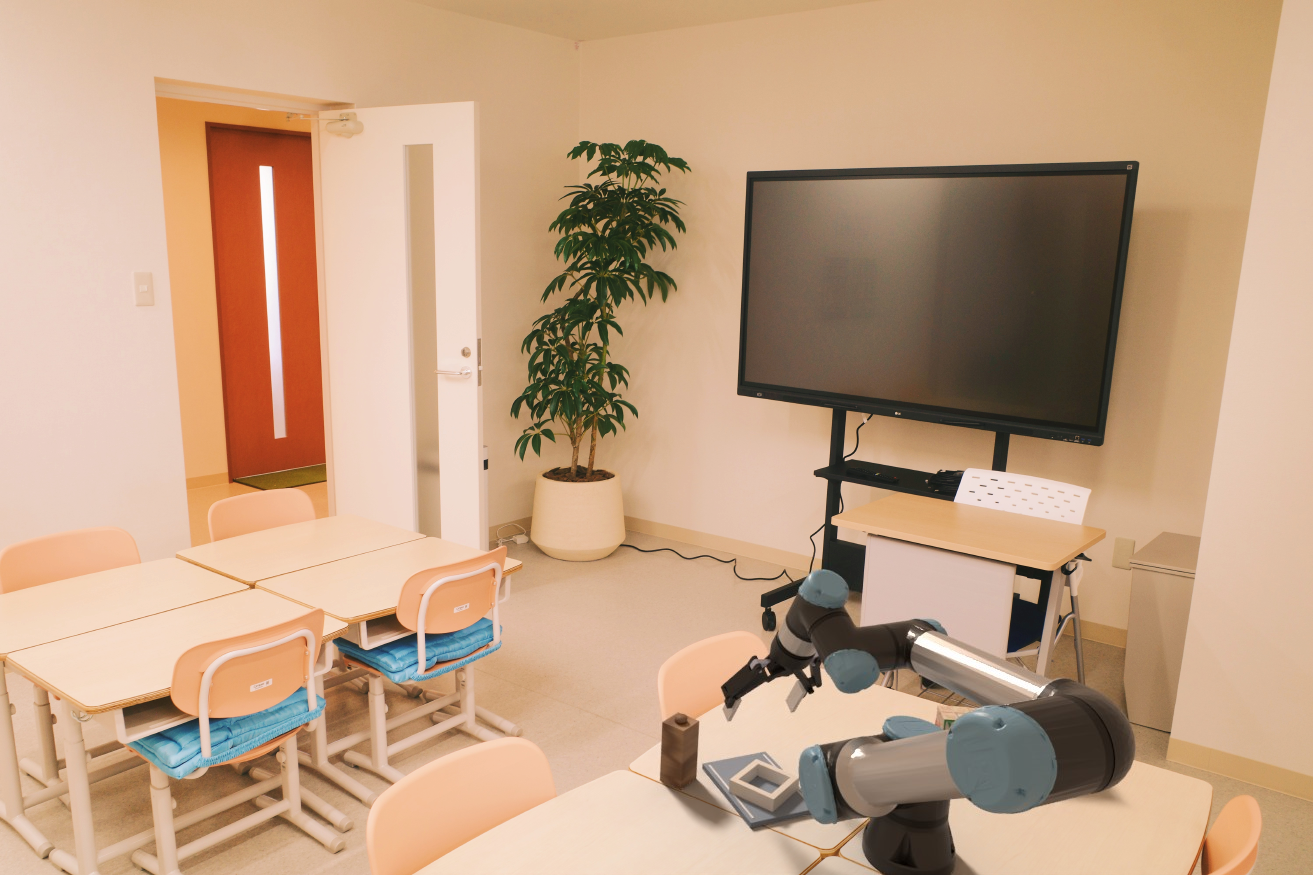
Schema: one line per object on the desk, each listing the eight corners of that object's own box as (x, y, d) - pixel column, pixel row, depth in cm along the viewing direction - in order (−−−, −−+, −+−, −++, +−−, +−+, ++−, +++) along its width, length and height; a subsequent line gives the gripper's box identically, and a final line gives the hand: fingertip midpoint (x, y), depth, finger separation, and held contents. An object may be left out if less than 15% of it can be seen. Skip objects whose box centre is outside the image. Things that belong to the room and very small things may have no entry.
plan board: (818, 812, 160) (819, 806, 160) (750, 827, 155) (750, 822, 155) (765, 755, 178) (765, 750, 178) (702, 768, 173) (702, 762, 173)
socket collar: (798, 789, 165) (799, 776, 165) (772, 811, 158) (773, 799, 158) (755, 770, 171) (756, 758, 171) (728, 791, 164) (729, 779, 163)
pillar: (696, 778, 169) (699, 715, 167) (680, 789, 166) (683, 725, 163) (675, 768, 172) (678, 707, 170) (659, 779, 169) (662, 716, 166)
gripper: (847, 617, 162) (807, 686, 175) (726, 629, 152) (692, 701, 165) (866, 651, 157) (823, 719, 169) (742, 665, 147) (705, 736, 160)
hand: (758, 710), depth 167 cm, fingers open, 13 cm apart
